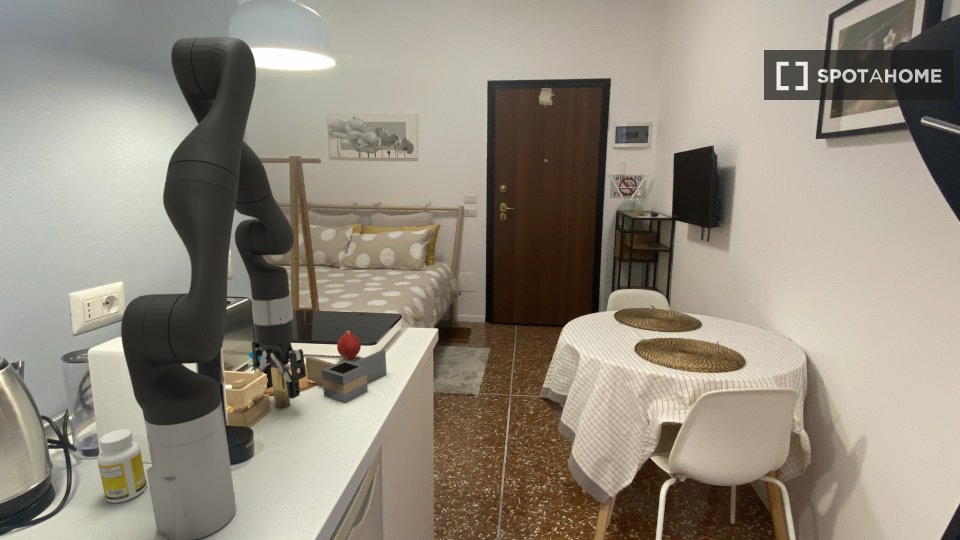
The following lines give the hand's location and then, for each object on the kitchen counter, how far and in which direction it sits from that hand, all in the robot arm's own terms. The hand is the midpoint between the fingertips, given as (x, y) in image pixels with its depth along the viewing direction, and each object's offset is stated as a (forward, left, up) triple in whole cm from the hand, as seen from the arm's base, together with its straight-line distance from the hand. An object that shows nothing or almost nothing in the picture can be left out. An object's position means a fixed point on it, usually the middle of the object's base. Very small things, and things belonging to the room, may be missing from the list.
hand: (281, 392), depth 106 cm
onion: (+25, +7, -3) cm, 26 cm away
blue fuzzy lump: (+8, +16, -3) cm, 18 cm away
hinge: (+15, -2, -3) cm, 16 cm away
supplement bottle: (-31, -4, -3) cm, 31 cm away
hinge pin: (0, 0, -3) cm, 3 cm away
